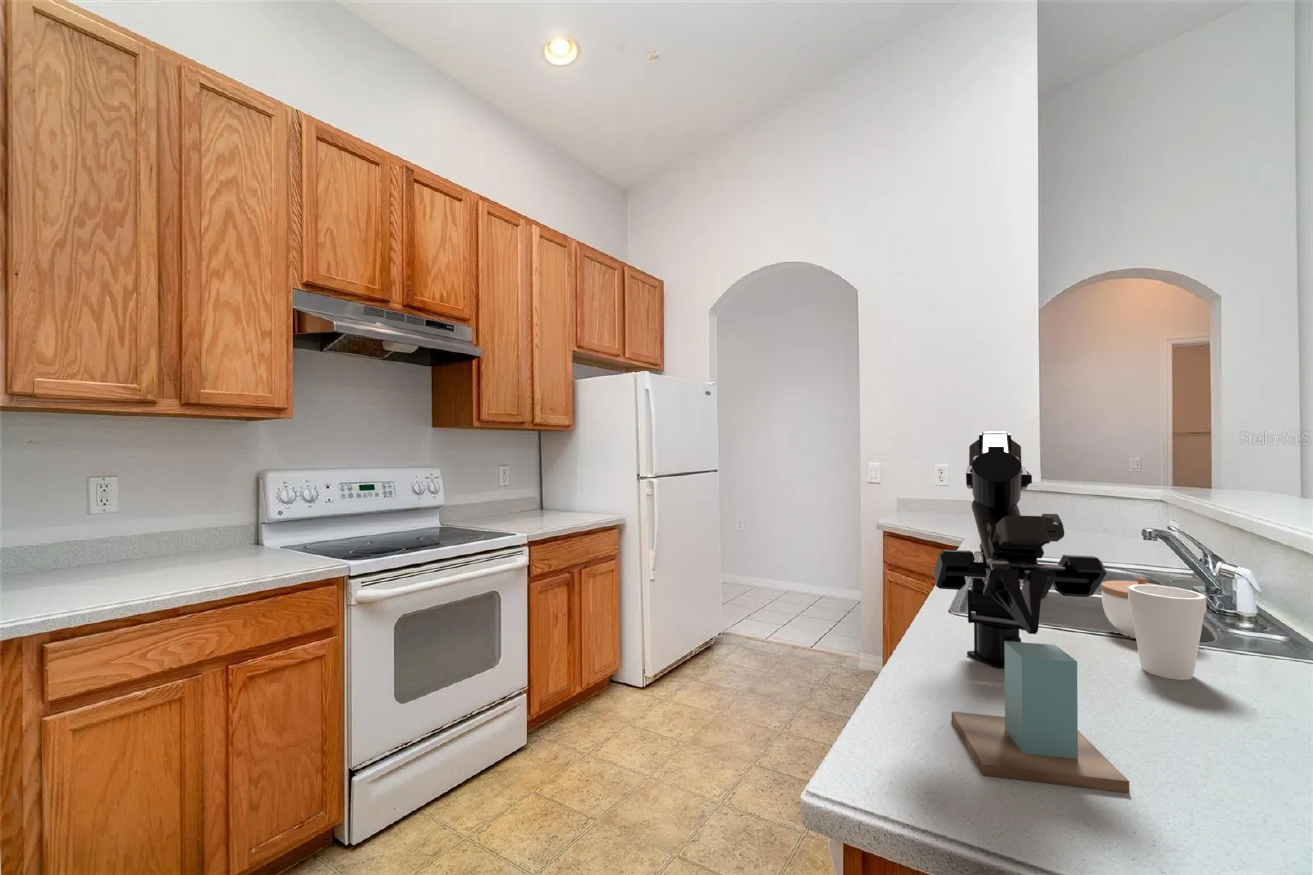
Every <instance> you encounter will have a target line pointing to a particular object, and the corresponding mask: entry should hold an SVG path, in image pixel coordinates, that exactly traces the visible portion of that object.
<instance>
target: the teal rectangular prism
mask: <svg viewBox="0 0 1313 875" xmlns="http://www.w3.org/2000/svg"><path fill="white" fill-rule="evenodd" d="M1004 646H1005V667H1004V717H1005V730H1006V732H1007V733H1008V734H1009V736H1010V737H1011V738H1012V740H1013V741H1014V742H1015V744H1016V745H1017V746H1018V748H1019V749H1020V750H1021V752H1022V753H1027V754H1036V755H1045V756H1054V757H1063V758H1072V759H1078V731H1079V728H1078V725H1079V724H1078V719H1079V718H1078V660H1076V659H1074V658H1073V657H1072V656H1071V655H1069V654H1068V653H1067V652H1065V650H1063V649H1061V647H1059V646H1058V645H1056V644H1053V643H1052V644H1051V643H1050V644H1047V643H1036V642H1023V641H1021V642H1010V641H1004Z"/></svg>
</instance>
